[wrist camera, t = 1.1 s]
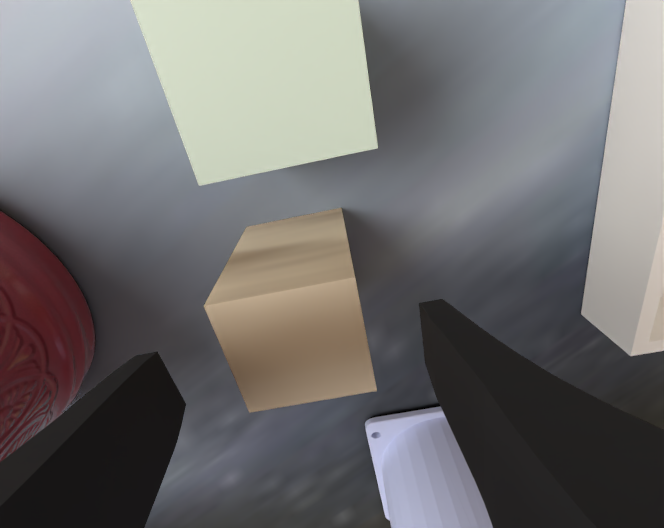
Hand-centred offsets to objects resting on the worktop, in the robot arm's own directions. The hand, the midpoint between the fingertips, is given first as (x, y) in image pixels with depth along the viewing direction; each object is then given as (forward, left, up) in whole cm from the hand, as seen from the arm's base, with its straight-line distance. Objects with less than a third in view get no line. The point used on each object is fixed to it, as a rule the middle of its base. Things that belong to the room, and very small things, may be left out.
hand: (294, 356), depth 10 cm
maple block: (0, 0, -6) cm, 6 cm away
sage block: (+7, -1, -6) cm, 9 cm away
